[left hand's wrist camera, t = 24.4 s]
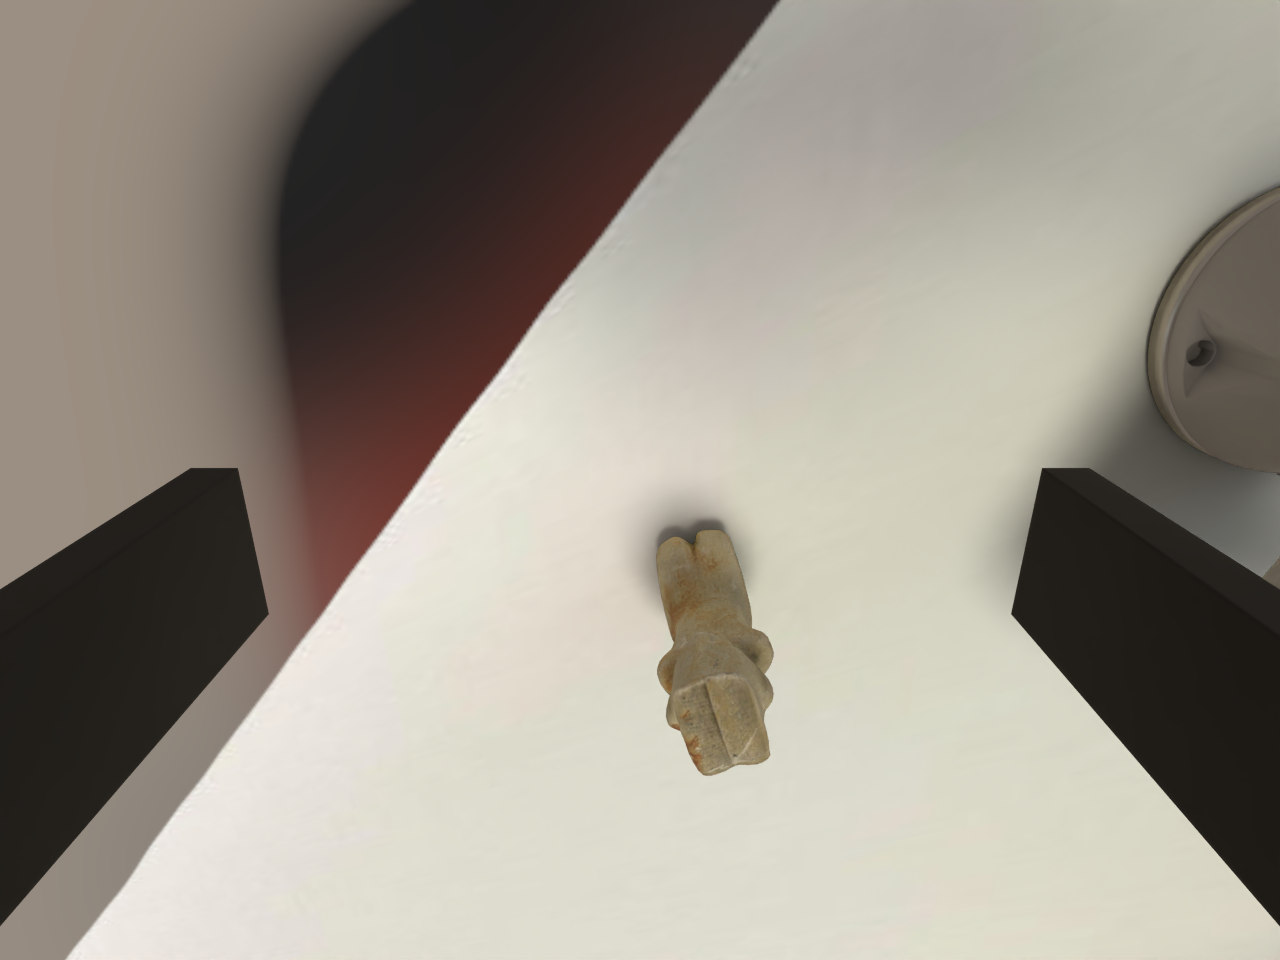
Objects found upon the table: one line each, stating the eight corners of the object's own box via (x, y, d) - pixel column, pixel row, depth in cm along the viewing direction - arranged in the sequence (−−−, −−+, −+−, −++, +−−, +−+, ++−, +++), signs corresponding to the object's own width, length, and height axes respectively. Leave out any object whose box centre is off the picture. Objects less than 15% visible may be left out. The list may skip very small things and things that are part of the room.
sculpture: (739, 514, 44) (785, 668, 30) (758, 617, 47) (809, 803, 33) (642, 533, 44) (643, 693, 31) (666, 634, 47) (677, 824, 33)
